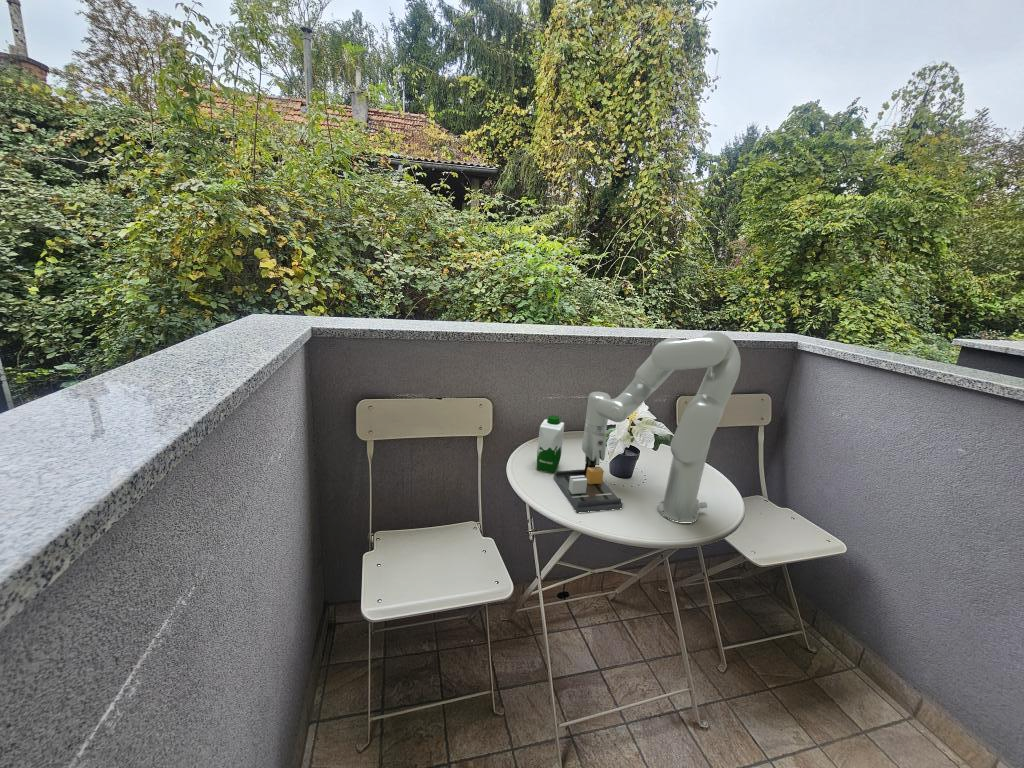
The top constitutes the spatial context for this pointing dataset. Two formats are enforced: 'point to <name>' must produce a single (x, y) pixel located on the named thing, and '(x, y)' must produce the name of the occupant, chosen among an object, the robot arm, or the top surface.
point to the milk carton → (550, 444)
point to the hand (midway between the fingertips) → (589, 473)
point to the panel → (587, 493)
